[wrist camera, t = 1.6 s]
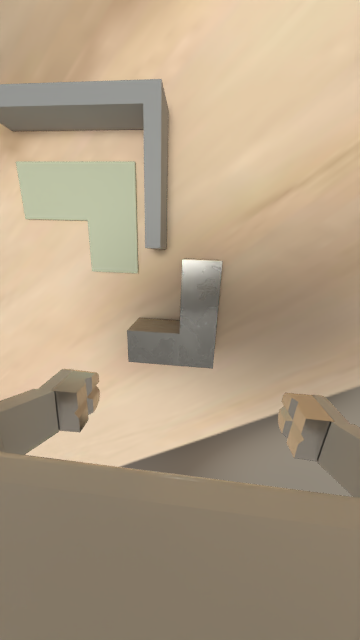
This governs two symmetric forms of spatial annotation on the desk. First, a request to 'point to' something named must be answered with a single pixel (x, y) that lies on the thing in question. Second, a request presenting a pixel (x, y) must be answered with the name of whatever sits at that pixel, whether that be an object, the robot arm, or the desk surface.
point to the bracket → (183, 322)
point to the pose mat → (88, 205)
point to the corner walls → (102, 126)
